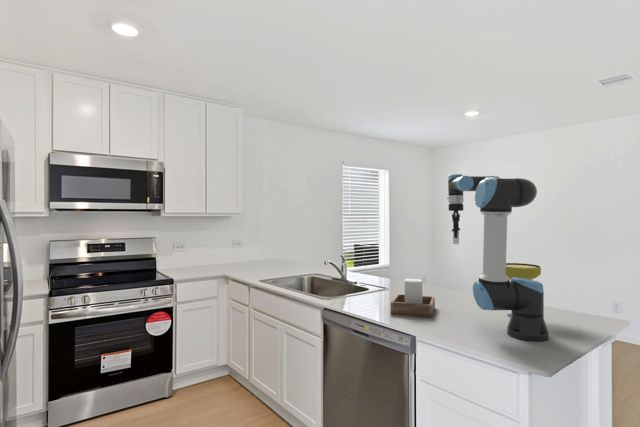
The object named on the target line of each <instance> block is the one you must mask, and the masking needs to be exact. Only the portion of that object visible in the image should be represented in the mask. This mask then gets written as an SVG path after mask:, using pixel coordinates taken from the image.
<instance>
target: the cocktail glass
mask: <svg viewBox="0 0 640 427" xmlns="http://www.w3.org/2000/svg"><path fill="white" fill-rule="evenodd" d="M541 273H542V268H541V266H540V265H538V264H531V263H518V262H516V263H515V262H508V263H507V262H506V276H507V277H509V279H510V280H511V278H513V277H516V278H524V279H530V280H534V279H536V278H538V277H539V276H540V275H541ZM511 315H512V312H511V313H508V314H507V317H509V319H510V318H511Z"/></svg>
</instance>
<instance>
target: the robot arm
mask: <svg viewBox="0 0 640 427" xmlns="http://www.w3.org/2000/svg"><path fill="white" fill-rule="evenodd" d="M447 187H448V188H447V189H448V191H447V192H448V193H447V194H448V197H447V198H446V199H447V200H448V206H447V207H448V211H449V212H452V214H451V218H452V222H453V223H452V224H453V225H452V229H451V232H452V244H453V245H459V244H460V231H461V228H460V225H459V223H460V218H461V214H460V213H459V212H461V211H464V192H475V193H474V202H475V206H477V207H478V208H479V209H480V213H481V214H482V215H483V248H482V250H483V252H482V273H481V274H479V276H478V280H476V281H474V283H473V285H472V294H473V298H474V300H475V303H476V304H477V306H478V307H479V309H481V310H483V311H493V312H494V311H511V313H512V315H511V318H510V317H509V321H508V324H507V327H506V333H507V335H508V336H510V337H512V338H515V339H518V340H523V341H528V342H544V341H548V340H549V339H550V332H549V329H548V326H547V324H546V321H545V318H544V317H545V316H544V301H545V300H544V298H545V297H544V295H545V292H544V290H545V289H544V285H543V284H542V283H541V282H540V281H539V280H538V281H537V280H534V279H532V280H530V279H524V278H516V277H513V278H511V279H509V277H507V276H506V263H507V245H508V244H507V242H508V241H507V240H508V238H507V237H508V217H509V215H510V214H511V213H512V212H513V208H521V207H526V206H528V205H530V204H531V203H532V202H533V201H535V199H536V198H537V194H538V189H537V187H536V185H535V183H533V181H531V180H529V179H527V178H519V177H518V178H517V177H516V178H502V177H499V176H496V175H487V176H486V175H484V176H483V175H482V176H479V175H478V176H477V175H476V176H474V175H473V176H469V175H463V174H462V173H461V174H460V173H459V174H458V173H457V174H449V175H448V180H447Z"/></svg>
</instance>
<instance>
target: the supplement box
mask: <svg viewBox="0 0 640 427" xmlns="http://www.w3.org/2000/svg"><path fill="white" fill-rule="evenodd" d="M404 295H405V303H415V304H422V296H423V280H422V279H421V278H405V279H404Z"/></svg>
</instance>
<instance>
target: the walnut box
mask: <svg viewBox="0 0 640 427" xmlns="http://www.w3.org/2000/svg"><path fill="white" fill-rule="evenodd" d="M435 298H436V297H435V296H428V295H422V304H415V303H405V294H401V293H400V294H399V293H397V294H396V295H395V296H394V297H393V299H392V300H391V301H390V315H395V316H396V315H399V316H409V317H420V318H430V319H431V318H433V315H434V311H435V309H436V306H435V305H436V304H435V302H436V301H435V300H436V299H435Z"/></svg>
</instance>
